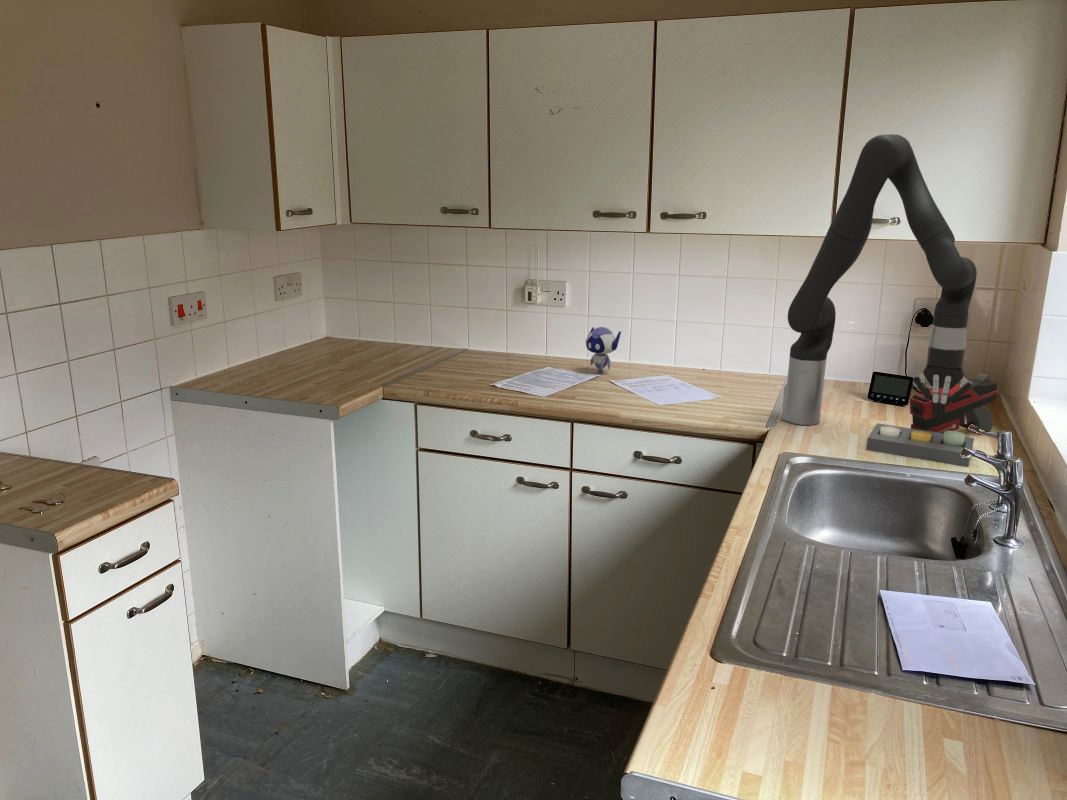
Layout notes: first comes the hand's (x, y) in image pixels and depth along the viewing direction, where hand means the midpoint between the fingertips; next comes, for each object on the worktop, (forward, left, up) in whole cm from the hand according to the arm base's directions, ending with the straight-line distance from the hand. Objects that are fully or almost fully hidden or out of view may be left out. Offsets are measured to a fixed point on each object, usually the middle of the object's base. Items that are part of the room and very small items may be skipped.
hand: (937, 417), depth 199 cm
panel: (-3, +1, -9) cm, 9 cm away
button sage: (+4, +1, -7) cm, 8 cm away
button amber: (-3, +1, -8) cm, 9 cm away
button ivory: (-10, +1, -8) cm, 13 cm away
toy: (-101, +28, -9) cm, 105 cm away
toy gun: (+2, +19, -9) cm, 21 cm away
